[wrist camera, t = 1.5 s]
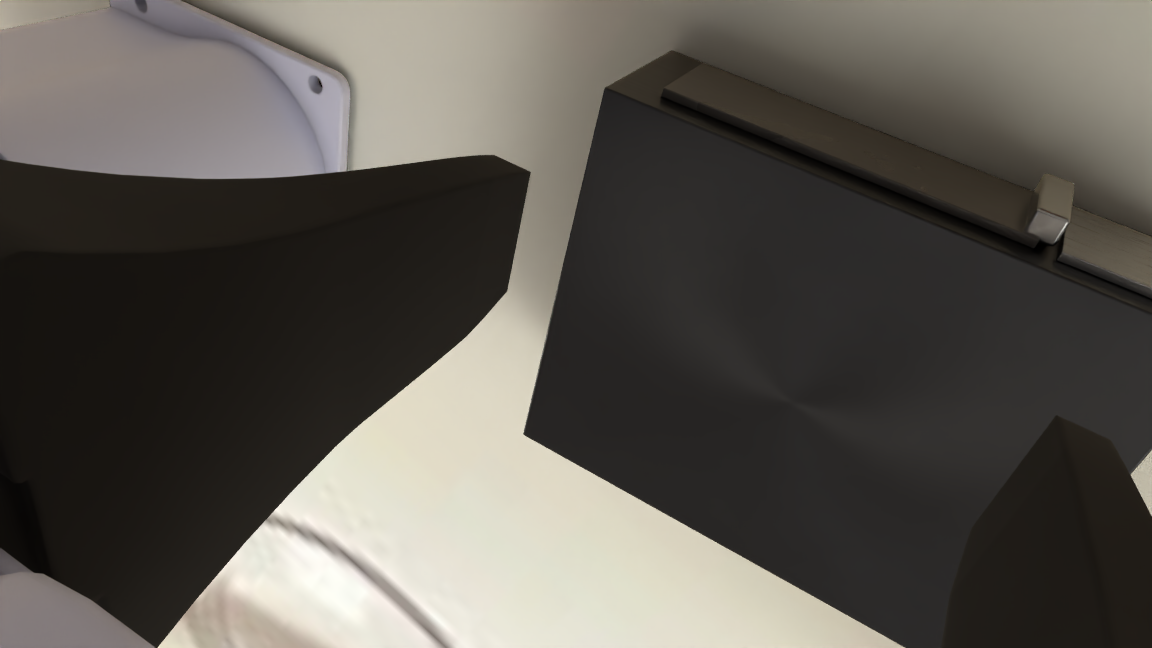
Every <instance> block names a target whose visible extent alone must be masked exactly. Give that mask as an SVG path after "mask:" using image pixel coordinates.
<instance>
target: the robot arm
mask: <svg viewBox="0 0 1152 648" xmlns="http://www.w3.org/2000/svg"><path fill="white" fill-rule="evenodd" d="M318 78H319V79H320V81H321V83H322V87H321V86H320V84H319V83H318ZM349 113H350V86H349V84H348V81H347V80H346V78H345V77H344V76H343V75H342V74H341V73H339V72H338V71H336V70H334V69H332V68H329V67H327V66H325V65H323V64H321V63H318V62H316V61H314V60H312V59H309V58H307V57H305V56H303V55H301V54H298V53H296V52H294V51H292V50H290V49H287V48H285V47H283V46H281V45H278V44H276V43H274V42H272V41H270V40H267V39H265V38H263V37H261V36H259V35H256V34H254V33H252V32H250V31H247V30H245V29H243V28H241V27H239V26H236V25H234V24H232V23H230V22H228V21H225V20H223V19H221V18H219V17H217V16H214V15H212V14H210V13H208V12H205V11H203V10H201V9H199V8H197V7H194V6H192V5H190V4H188V3H186V2H183V1H181V0H110V7H109V8H104V9H100V10H95V11H90V12H85V13H80V14H75V15H70V16H65V17H61V18H56V19H51V20H46V21H41V22H36V23H31V24H26V25H22V26H17V27H12V28H7V29H2V30H0V648H158V646H159V645H160V644H161V643H162V641H163V640H164V639H165V638H166V636H167V635H168V634H169V633H170V631H171V630H172V629H173V628H174V626H175V625H176V624H177V623H178V621H179V620H180V619H181V618H182V616H183V615H184V614H185V613H186V611H187V610H188V609H189V608H190V606H191V605H192V604H193V603H194V601H195V600H196V599H197V598H198V597H199V596H200V594H201V593H202V592H203V591H204V590H205V589H206V587H207V586H208V585H209V584H210V583H211V582H212V580H213V579H214V578H215V577H216V576H217V575H218V573H219V572H220V571H221V570H222V569H223V568H224V566H225V565H226V564H227V563H228V562H229V561H230V559H231V558H232V557H233V556H234V555H235V554H236V552H237V551H238V550H239V549H240V548H241V547H242V545H243V544H244V543H245V542H246V541H247V540H248V539H249V538H250V536H251V535H252V534H253V533H254V532H255V531H256V530H257V529H258V528H259V527H260V526H261V524H262V523H263V522H264V521H265V520H266V519H267V518H268V517H269V516H270V515H271V514H272V512H273V511H274V510H275V509H276V508H277V507H278V506H279V505H280V504H281V503H282V502H283V500H284V499H285V498H286V497H287V496H288V495H289V494H290V493H291V492H292V491H293V490H294V489H295V488H296V487H297V485H298V484H299V483H300V482H301V481H302V480H303V479H304V478H305V477H306V476H307V475H308V474H309V473H310V472H311V471H312V470H313V469H314V468H315V467H316V466H317V465H318V464H319V463H320V462H321V461H322V460H323V459H324V458H325V457H326V456H327V455H328V454H329V453H330V452H331V451H332V450H333V449H334V447H335V446H336V445H338V444H339V443H340V442H341V441H342V440H343V439H344V438H345V437H346V436H348V435H349V434H350V433H351V432H352V431H353V430H354V429H355V428H356V427H358V426H359V425H360V424H361V423H362V422H363V421H365V420H366V419H367V418H368V417H370V416H371V415H372V414H373V413H374V412H376V411H377V410H378V409H379V408H381V407H382V406H383V405H384V404H386V403H387V402H388V401H389V400H390V399H392V398H393V397H394V396H395V395H397V394H398V393H399V392H400V391H401V390H403V389H404V388H405V387H406V386H408V385H409V384H410V383H411V382H412V381H414V380H415V379H416V378H417V377H419V376H420V375H421V374H422V373H424V372H425V371H426V370H427V369H428V368H430V367H431V366H432V365H433V364H434V363H436V362H437V361H438V360H439V359H440V358H442V357H443V356H444V355H445V354H446V353H448V352H449V351H450V350H451V349H452V348H454V347H455V346H456V345H457V344H458V343H459V342H461V341H462V340H463V339H464V338H465V337H466V336H467V335H468V334H469V333H470V332H471V331H472V330H473V329H474V328H475V327H476V326H477V325H478V324H479V322H480V321H481V320H482V319H483V318H484V317H485V316H486V315H487V314H488V312H489V311H490V310H491V309H492V308H493V307H494V306H495V304H496V303H497V302H498V301H499V300H500V299H501V297H502V296H503V295H504V294H505V293H506V292H507V289H508V284H509V279H510V274H511V269H512V264H513V259H514V254H515V249H516V244H517V238H518V233H519V228H520V223H521V218H522V213H523V208H524V203H525V198H526V193H527V188H528V183H529V178H530V173H531V172H530V171H527V170H525V169H523V168H521V167H519V166H517V165H514V164H512V163H510V162H508V161H506V160H504V159H501V158H499V157H497V156H495V155H478V156H465V157H456V158H447V159H439V160H431V161H424V162H417V163H409V164H402V165H394V166H387V167H379V168H372V169H364V170H354V171H347V153H348V133H349ZM941 648H1152V516H1151V514H1150V512H1149V510H1148V508H1147V506H1146V505H1145V503H1144V501H1143V499H1142V497H1141V495H1140V493H1139V491H1138V489H1137V487H1136V485H1135V483H1134V481H1133V479H1132V477H1131V475H1130V474H1129V472H1128V470H1127V468H1126V466H1125V464H1124V462H1123V460H1122V458H1121V457H1120V455H1119V453H1118V451H1117V450H1116V448H1115V446H1114V445H1113V443H1112V441H1111V440H1110V439H1108V438H1105V437H1103V436H1101V435H1099V434H1097V433H1095V432H1092V431H1090V430H1088V429H1086V428H1084V427H1082V426H1079V425H1077V424H1075V423H1073V422H1071V421H1069V420H1066V419H1064V418H1062V417H1060V416H1058V415H1056V416H1055V417H1054V419H1053V420H1052V421H1051V423H1050V424H1049V425H1048V427H1047V428H1046V429H1045V431H1044V432H1043V433H1042V435H1041V436H1040V437H1039V439H1038V440H1037V441H1036V443H1035V444H1034V445H1033V447H1032V448H1031V449H1030V451H1029V452H1028V453H1027V455H1026V456H1025V457H1024V459H1023V460H1022V461H1021V463H1020V464H1019V465H1018V467H1017V468H1016V469H1015V471H1014V472H1013V473H1012V475H1011V476H1010V477H1009V479H1008V480H1007V481H1006V483H1005V484H1004V485H1003V487H1002V488H1001V489H1000V491H999V492H998V493H997V495H996V496H995V497H994V499H993V500H992V501H991V503H990V504H989V505H988V507H987V508H986V509H985V511H984V512H983V513H982V515H981V516H980V517H979V519H978V520H977V521H976V523H975V524H974V525H973V527H972V528H971V531H970V534H969V537H968V540H967V543H966V546H965V549H964V552H963V555H962V558H961V561H960V564H959V567H958V570H957V573H956V577H955V580H954V583H953V587H952V590H951V593H950V597H949V602H948V608H947V614H946V620H945V626H944V632H943V638H942V644H941Z"/></svg>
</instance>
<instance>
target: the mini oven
mask: <svg viewBox="0 0 1152 648" xmlns="http://www.w3.org/2000/svg"><path fill="white" fill-rule="evenodd" d="M1074 186H1075V185H1074V184H1073V183H1072V182H1069V181H1067V180H1064V179H1061V178H1059V177H1056V176H1054V175H1051V174H1044V175H1043V176H1042V178H1041V180H1040V181H1039V183H1038V185H1037V187H1036V188H1035V190H1034V192H1033V191H1031V190H1028V189H1026V188H1023V187H1021V186H1018V185H1015V184H1013V183H1010V182H1008V181H1005V180H1003V179H1000V178H998V177H995V176H992V175H990V174H987V173H985V172H982V171H980V170H977V169H975V168H972V167H969V166H967V165H964V164H962V163H959V162H957V161H954V160H951V159H949V158H946V157H944V156H941V155H939V154H936V153H934V152H931V151H928V150H926V149H923V148H921V147H918V146H916V145H913V144H910V143H908V142H905V141H903V140H900V139H898V138H895V137H893V136H890V135H887V134H885V133H882V132H880V131H877V130H875V129H872V128H869V127H867V126H864V125H862V124H859V123H857V122H854V121H852V120H849V119H846V118H844V117H841V116H839V115H836V114H834V113H831V112H828V111H826V110H823V109H821V108H818V107H816V106H813V105H811V104H808V103H805V102H803V101H800V100H798V99H795V98H793V97H790V96H788V95H785V94H782V93H780V92H777V91H775V90H772V89H770V88H767V87H764V86H762V85H759V84H757V83H754V82H752V81H749V80H747V79H744V78H741V77H739V76H736V75H734V74H731V73H729V72H726V71H723V70H721V69H718V68H716V67H713V66H711V65H708V64H706V63H703V62H700V61H698V60H695V59H693V58H690V57H688V56H685V55H682V54H680V53H677V52H675V51H670V52H668V53H666V54H664V55H663V56H661V57H659V58H657V59H656V60H654V61H652V62H650V63H648V64H647V65H645V66H643V67H641V68H639V69H638V70H636V71H634V72H632V73H630V74H629V75H627V76H625V77H623V78H622V79H620V80H618V81H616V82H614V83H613V84H611V85H609V86H607V87H605V89H604V93H603V97H602V102H601V106H600V110H599V114H598V119H597V123H596V127H595V131H594V136H593V140H592V144H591V148H590V153H589V157H588V161H587V165H586V170H585V174H584V178H583V182H582V187H581V191H580V195H579V199H578V204H577V208H576V212H575V216H574V221H573V225H572V229H571V233H570V238H569V242H568V246H567V250H566V255H565V259H564V263H563V267H562V272H561V276H560V280H559V284H558V289H557V293H556V297H555V301H554V306H553V310H552V314H551V318H550V323H549V327H548V331H547V335H546V340H545V344H544V348H543V352H542V357H541V361H540V365H539V369H538V374H537V378H536V382H535V386H534V391H533V395H532V399H531V403H530V408H529V412H528V416H527V420H526V425H525V429H524V433H523V434H524V435H525V436H527V437H528V438H530V439H532V440H534V441H536V442H537V443H539V444H541V445H543V446H545V447H546V448H548V449H550V450H552V451H554V452H555V453H557V454H559V455H561V456H563V457H564V458H566V459H568V460H570V461H571V462H573V463H575V464H577V465H579V466H580V467H582V468H584V469H586V470H588V471H589V472H591V473H593V474H595V475H597V476H598V477H600V478H602V479H604V480H606V481H607V482H609V483H611V484H613V485H615V486H616V487H618V488H620V489H622V490H624V491H625V492H627V493H629V494H631V495H632V496H634V497H636V498H638V499H640V500H641V501H643V502H645V503H647V504H649V505H650V506H652V507H654V508H656V509H658V510H659V511H661V512H663V513H665V514H667V515H668V516H670V517H672V518H674V519H676V520H677V521H679V522H681V523H683V524H685V525H686V526H688V527H690V528H692V529H693V530H695V531H697V532H699V533H701V534H702V535H704V536H706V537H708V538H710V539H711V540H713V541H715V542H717V543H719V544H720V545H722V546H724V547H726V548H728V549H729V550H731V551H733V552H735V553H737V554H738V555H740V556H742V557H744V558H746V559H747V560H749V561H751V562H753V563H754V564H756V565H758V566H760V567H762V568H763V569H765V570H767V571H769V572H771V573H772V574H774V575H776V576H778V577H780V578H781V579H783V580H785V581H787V582H789V583H790V584H792V585H794V586H796V587H798V588H799V589H801V590H803V591H805V592H807V593H808V594H810V595H812V596H814V597H815V598H817V599H819V600H821V601H823V602H824V603H826V604H828V605H830V606H832V607H833V608H835V609H837V610H839V611H841V612H842V613H844V614H846V615H848V616H850V617H851V618H853V619H855V620H857V621H859V622H860V623H862V624H864V625H866V626H868V627H869V628H871V629H873V630H875V631H877V632H878V633H880V634H882V635H884V636H885V637H887V638H889V639H891V640H893V641H894V642H896V643H898V644H900V645H902V646H903V647H905V648H941V644H942V638H943V632H944V626H945V620H946V614H947V608H948V602H949V597H950V593H951V590H952V587H953V583H954V580H955V577H956V573H957V570H958V567H959V564H960V561H961V558H962V555H963V552H964V549H965V546H966V543H967V540H968V537H969V534H970V531H971V528H972V527H973V525H974V524H975V523H976V521H977V520H978V519H979V517H980V516H981V515H982V513H983V512H984V511H985V509H986V508H987V507H988V505H989V504H990V503H991V501H992V500H993V499H994V497H995V496H996V495H997V493H998V492H999V491H1000V489H1001V488H1002V487H1003V485H1004V484H1005V483H1006V481H1007V480H1008V479H1009V477H1010V476H1011V475H1012V473H1013V472H1014V471H1015V469H1016V468H1017V467H1018V465H1019V464H1020V463H1021V461H1022V460H1023V459H1024V457H1025V456H1026V455H1027V453H1028V452H1029V451H1030V449H1031V448H1032V447H1033V445H1034V444H1035V443H1036V441H1037V440H1038V439H1039V437H1040V436H1041V435H1042V433H1043V432H1044V431H1045V429H1046V428H1047V427H1048V425H1049V424H1050V423H1051V421H1052V420H1053V419H1054V417H1055V416H1056V415H1058V416H1060V417H1062V418H1064V419H1066V420H1069V421H1071V422H1073V423H1075V424H1077V425H1079V426H1082V427H1084V428H1086V429H1088V430H1090V431H1092V432H1095V433H1097V434H1099V435H1101V436H1103V437H1105V438H1108V439H1110V440H1111V441H1112V443H1113V445H1114V446H1115V448H1116V450H1117V451H1118V453H1119V455H1120V457H1121V458H1122V460H1123V462H1124V464H1125V466H1126V468H1127V470H1128V472H1129V474H1130V475H1131V473H1132V472H1133V471H1134V470H1135V469H1136V468H1137V466H1138V465H1139V464H1140V463H1141V462H1142V461H1143V459H1144V458H1145V457H1146V456H1147V455H1148V454H1149V453H1150V451H1151V450H1152V237H1151V236H1149V235H1146V234H1144V233H1141V232H1138V231H1136V230H1133V229H1131V228H1128V227H1126V226H1123V225H1121V224H1118V223H1115V222H1113V221H1110V220H1108V219H1105V218H1103V217H1100V216H1097V215H1095V214H1092V213H1090V212H1087V211H1085V210H1082V209H1080V208H1077V207H1074V206H1072V203H1073V195H1074Z"/></svg>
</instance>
